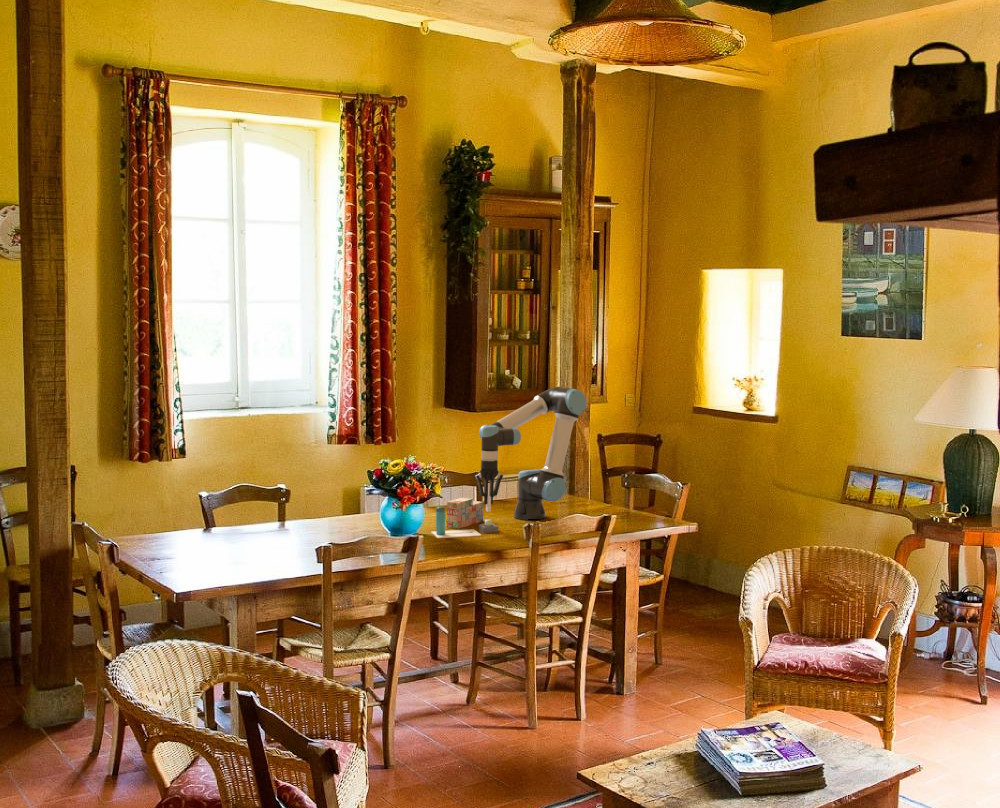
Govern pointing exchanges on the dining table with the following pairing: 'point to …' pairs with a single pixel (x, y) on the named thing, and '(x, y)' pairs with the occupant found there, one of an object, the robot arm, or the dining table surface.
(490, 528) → the block
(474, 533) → the sheet
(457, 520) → the stack of blocks
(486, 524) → the button
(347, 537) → the dining table surface
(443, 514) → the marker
